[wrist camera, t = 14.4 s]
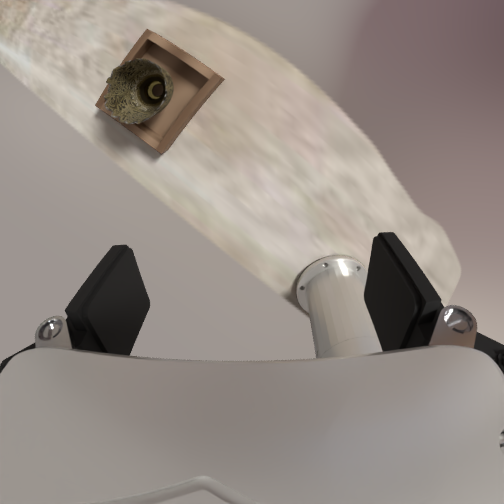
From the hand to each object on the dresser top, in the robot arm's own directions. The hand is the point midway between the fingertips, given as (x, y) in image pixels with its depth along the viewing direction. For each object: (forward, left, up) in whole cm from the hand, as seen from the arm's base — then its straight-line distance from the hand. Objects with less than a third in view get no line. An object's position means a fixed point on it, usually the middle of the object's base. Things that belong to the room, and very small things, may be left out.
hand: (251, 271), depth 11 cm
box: (+12, +9, -28) cm, 32 cm away
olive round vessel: (+12, +9, -28) cm, 32 cm away
